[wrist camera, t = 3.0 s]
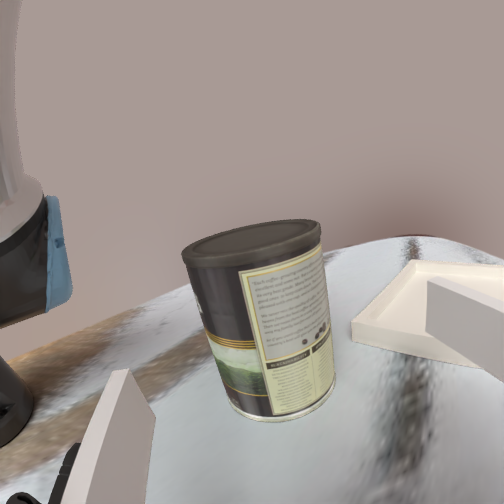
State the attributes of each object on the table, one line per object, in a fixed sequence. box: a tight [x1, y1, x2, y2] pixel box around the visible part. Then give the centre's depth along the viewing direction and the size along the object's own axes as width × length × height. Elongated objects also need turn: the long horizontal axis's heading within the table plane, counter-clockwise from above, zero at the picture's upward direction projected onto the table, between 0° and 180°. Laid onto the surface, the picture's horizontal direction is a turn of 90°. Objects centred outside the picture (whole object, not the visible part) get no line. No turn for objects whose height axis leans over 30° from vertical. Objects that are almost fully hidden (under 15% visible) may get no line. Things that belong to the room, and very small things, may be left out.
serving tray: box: [351, 260, 504, 369], centre depth 25 cm, size 20×20×2 cm
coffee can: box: [181, 219, 336, 422], centre depth 22 cm, size 10×10×14 cm
